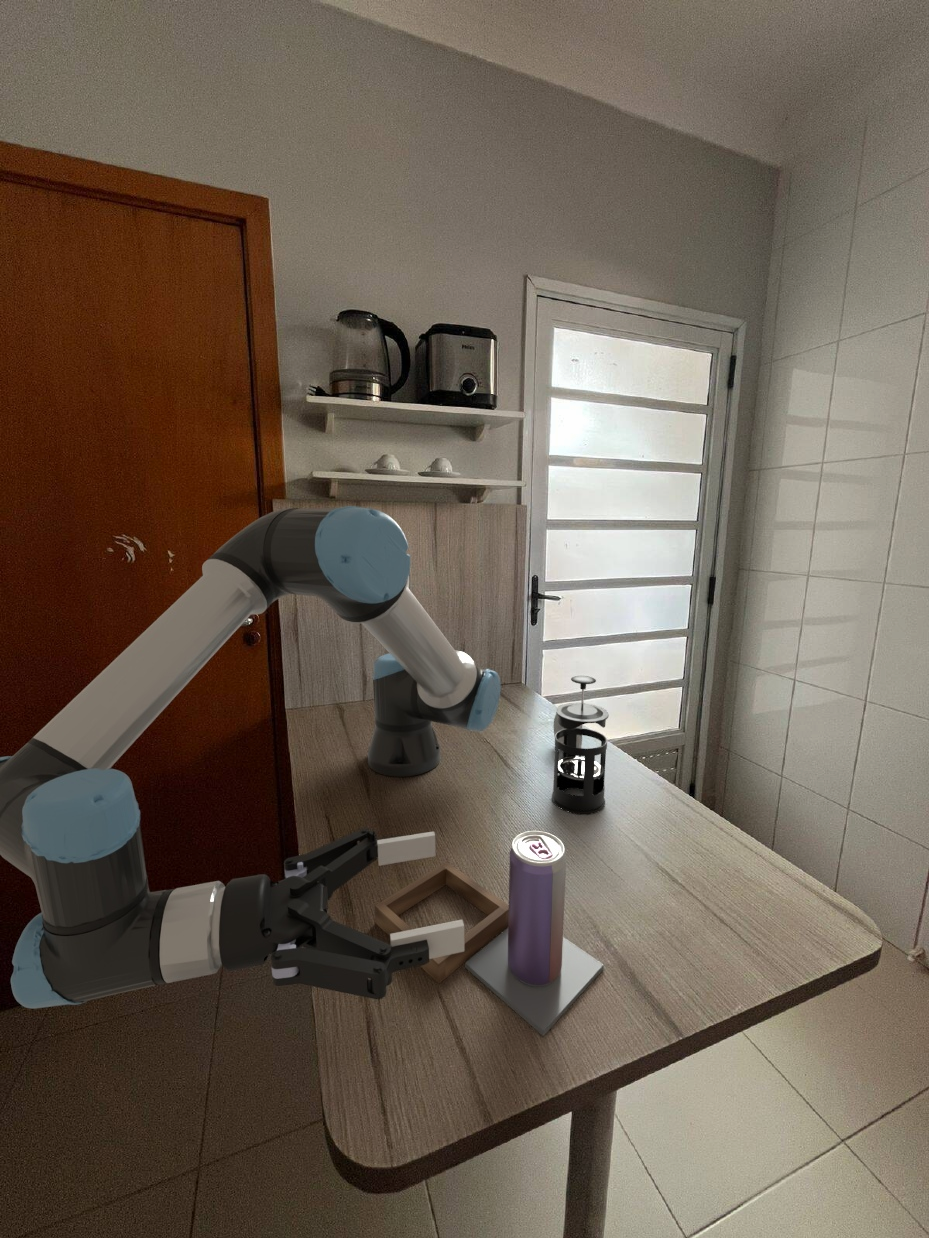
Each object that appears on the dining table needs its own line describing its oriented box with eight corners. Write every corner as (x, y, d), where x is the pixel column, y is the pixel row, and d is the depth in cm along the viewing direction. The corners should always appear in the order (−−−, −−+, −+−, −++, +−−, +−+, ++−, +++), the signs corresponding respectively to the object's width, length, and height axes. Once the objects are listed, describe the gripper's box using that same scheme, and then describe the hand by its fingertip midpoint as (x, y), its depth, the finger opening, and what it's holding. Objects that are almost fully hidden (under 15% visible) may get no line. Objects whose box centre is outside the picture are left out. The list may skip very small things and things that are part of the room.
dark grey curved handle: (550, 744, 116) (551, 702, 114) (564, 742, 116) (566, 700, 115) (569, 764, 106) (570, 719, 104) (584, 763, 107) (586, 717, 105)
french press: (615, 814, 88) (623, 686, 84) (562, 819, 87) (567, 688, 82) (589, 780, 100) (595, 666, 95) (542, 784, 98) (546, 668, 94)
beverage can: (523, 998, 54) (527, 870, 51) (498, 954, 59) (500, 836, 56) (572, 979, 56) (577, 855, 53) (543, 938, 61) (547, 824, 58)
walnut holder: (375, 922, 65) (374, 905, 64) (446, 877, 73) (446, 861, 72) (438, 983, 56) (438, 964, 56) (511, 924, 64) (511, 906, 64)
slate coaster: (465, 967, 58) (465, 962, 58) (526, 915, 66) (526, 911, 66) (543, 1036, 50) (543, 1031, 50) (603, 969, 58) (603, 964, 58)
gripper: (248, 871, 61) (426, 842, 66) (195, 1101, 37) (480, 1028, 42) (242, 814, 59) (425, 789, 64) (182, 1015, 35) (480, 950, 40)
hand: (447, 883), depth 53 cm, fingers open, 13 cm apart
